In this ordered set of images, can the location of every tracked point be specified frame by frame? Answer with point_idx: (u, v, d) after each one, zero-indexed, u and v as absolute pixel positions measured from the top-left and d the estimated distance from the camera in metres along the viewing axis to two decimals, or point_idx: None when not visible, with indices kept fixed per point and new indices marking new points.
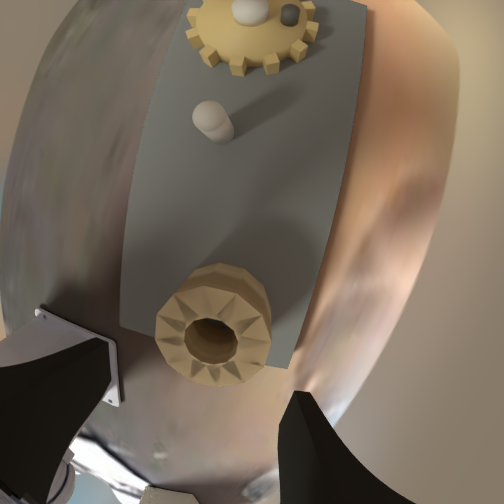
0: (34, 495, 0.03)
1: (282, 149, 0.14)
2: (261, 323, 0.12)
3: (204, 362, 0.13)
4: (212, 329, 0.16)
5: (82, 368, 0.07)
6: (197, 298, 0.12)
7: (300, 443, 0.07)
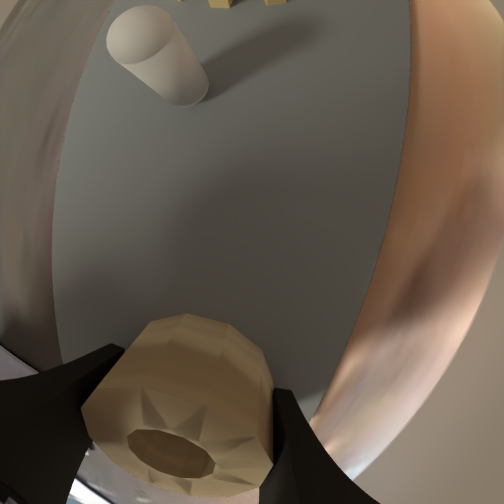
0: None
1: (296, 116, 0.07)
2: (256, 445, 0.05)
3: (166, 473, 0.06)
4: None
5: (99, 375, 0.07)
6: (134, 402, 0.05)
7: (277, 441, 0.07)
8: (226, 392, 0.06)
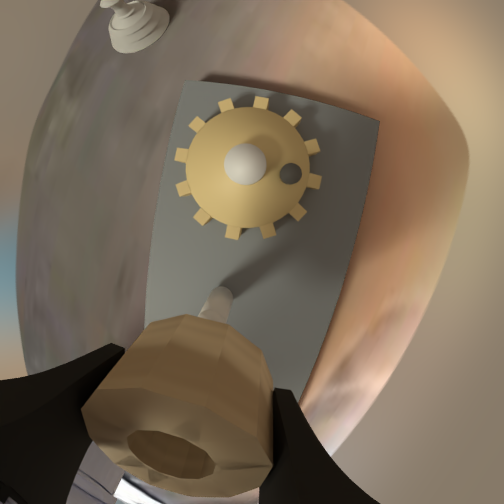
0: None
1: (276, 308, 0.17)
2: (256, 446, 0.05)
3: (166, 474, 0.06)
4: None
5: (99, 375, 0.07)
6: (134, 403, 0.05)
7: (277, 441, 0.07)
8: (226, 393, 0.06)
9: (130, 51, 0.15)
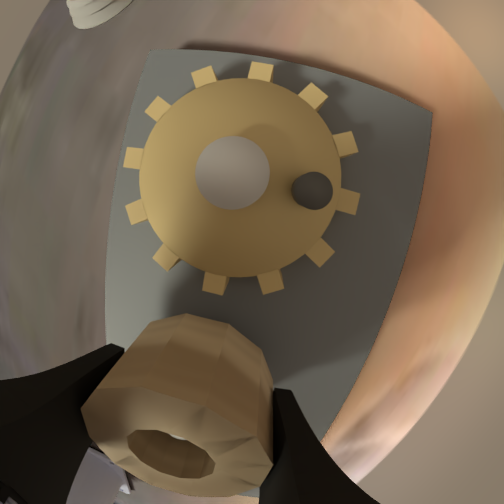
0: None
1: (280, 376, 0.11)
2: (256, 445, 0.05)
3: (166, 473, 0.06)
4: None
5: (99, 375, 0.07)
6: (134, 402, 0.05)
7: (277, 441, 0.07)
8: (226, 392, 0.06)
9: (91, 25, 0.09)
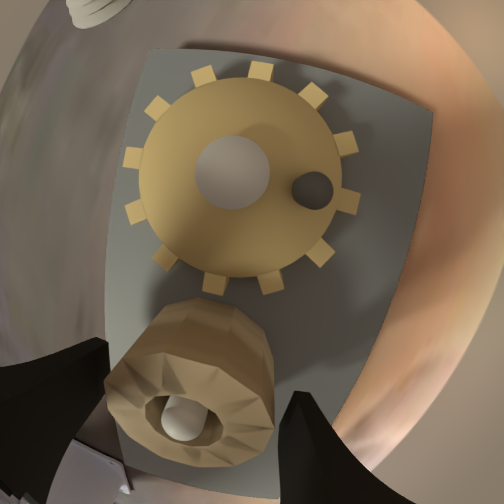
0: (34, 495, 0.03)
1: (280, 377, 0.11)
2: (260, 406, 0.07)
3: (177, 443, 0.08)
4: None
5: (82, 368, 0.07)
6: (156, 369, 0.07)
7: (300, 443, 0.07)
8: (235, 359, 0.07)
9: (90, 25, 0.09)
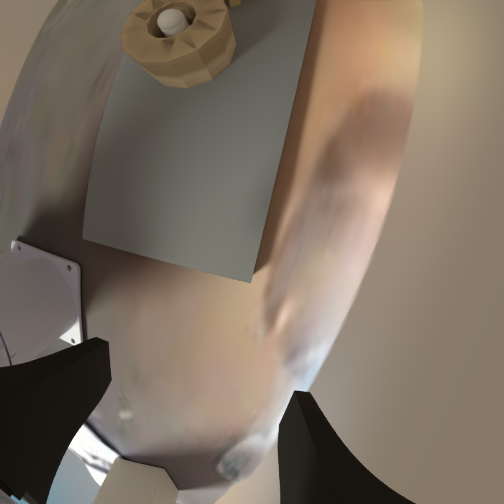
0: (34, 495, 0.03)
1: (241, 57, 0.13)
2: None
3: (160, 38, 0.10)
4: None
5: (82, 367, 0.07)
6: None
7: (300, 443, 0.07)
8: None
9: None
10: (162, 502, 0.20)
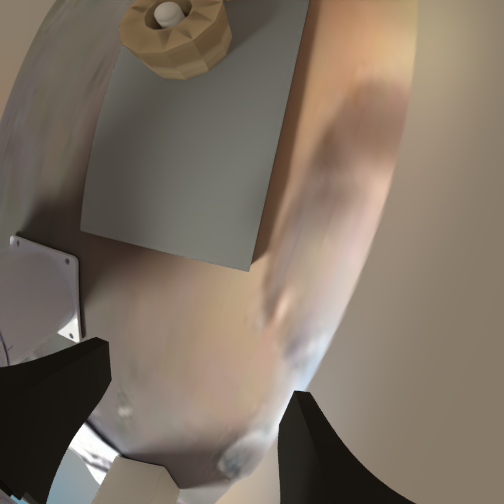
0: (34, 495, 0.03)
1: (237, 49, 0.13)
2: None
3: (157, 30, 0.10)
4: None
5: (82, 368, 0.07)
6: None
7: (300, 443, 0.07)
8: None
9: None
10: (162, 500, 0.20)
